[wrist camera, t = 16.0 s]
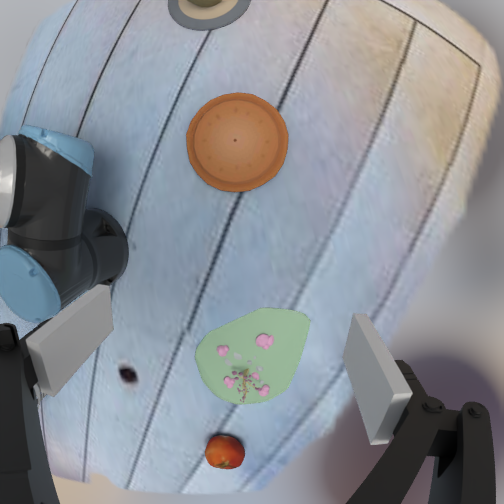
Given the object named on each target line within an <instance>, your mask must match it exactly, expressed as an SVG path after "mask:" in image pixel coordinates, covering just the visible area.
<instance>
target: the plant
mask: <svg viewBox="0 0 504 504" xmlns="http://www.w3.org/2000/svg"><path fill="white" fill-rule="evenodd" d="M309 326H310V319H309V318H308V317H307V316H306V315H305V314H303V313H300V312H297V311H294V310H287V309H279V308H260V309H257V310H255V311H253V312H251V313H249V314H247V315H244V316H242V317H240V318H238V319H236V320H234V321H232V322H230V323H227V324H225V325H223V326H221V327H219V328H217V329H214V330H212V331H210V332H209V333H208V334H207V335H206V336H205V337H204V338H203V340H202V341H201V342H200V344H199V346H198V347H197V349H196V354H195V360H196V363H197V366H198V369H199V372H200V375H201V378H202V380H203V382H204V383H205V385H206V386H207V387H208V388H209V389H210V390H211V391H212V392H213V393H214V394H215V395H216V396H217V397H219V398H220V399H222V400H225V401H228V402H231V403H234V404H251V403H260V402H265V401H268V400H270V399H272V398H274V397H276V396H278V395H279V394H281V393H283V392H284V391H285V390H286V389H287V388H288V387H289V385H290V383H291V381H292V378H293V376H294V374H295V371H296V369H297V367H298V364H299V362H300V359H301V355H302V352H303V348H304V345H305V341H306V338H307V334H308V331H309Z"/></svg>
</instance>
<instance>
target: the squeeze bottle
mask: <svg viewBox="0 0 504 504" xmlns="http://www.w3.org/2000/svg"><path fill="white" fill-rule="evenodd" d="M187 1H189V2H191V3H193V4H195V5H197V6H199V7H212V6H215V5H217V4H218V3H220V2H221V1H222V0H187Z"/></svg>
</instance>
